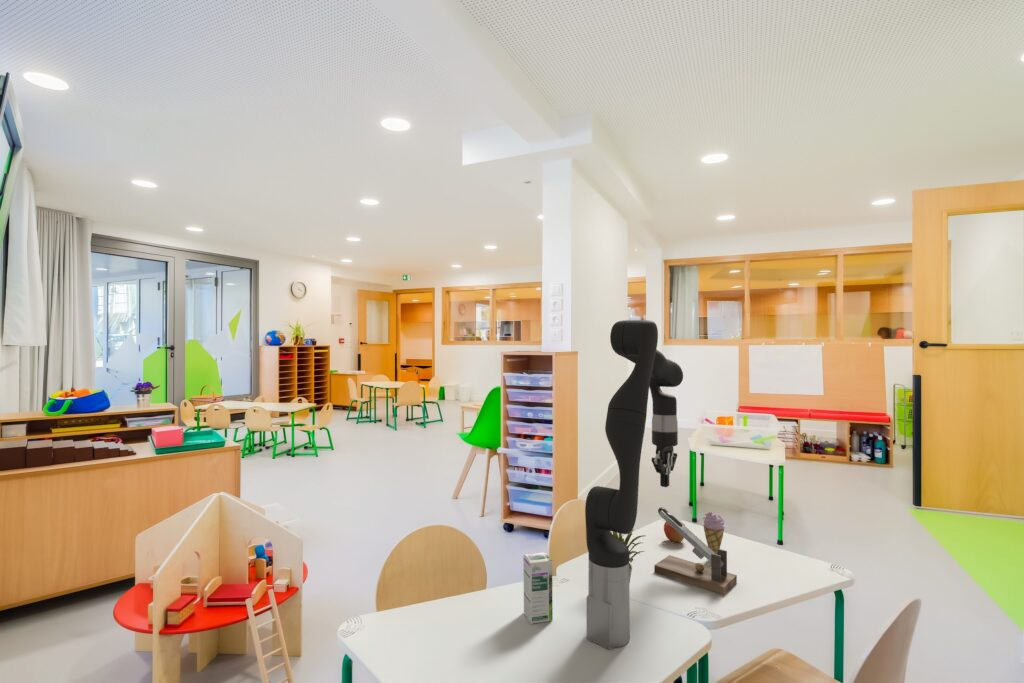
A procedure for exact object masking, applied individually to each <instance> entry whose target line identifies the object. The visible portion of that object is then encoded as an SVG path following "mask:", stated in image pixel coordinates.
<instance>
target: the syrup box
mask: <svg viewBox="0 0 1024 683" xmlns="http://www.w3.org/2000/svg"><path fill="white" fill-rule="evenodd" d="M522 558H523V559H522V560H523V613H524V615H525V617H526V618H527V621H528V623H529V624H530V625H533V624H538V623H544V622H545V623H546V622H552V621H553V615H554V614H553V609H554V608H553V559H551V557H550V556H549V554H547V553H546V551H544V552H537V553H529V554H527V553H525V554H523V557H522Z"/></svg>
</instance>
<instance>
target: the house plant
mask: <svg viewBox="0 0 1024 683" xmlns="http://www.w3.org/2000/svg"><path fill="white" fill-rule="evenodd" d="M634 530H635V528H633V529H632V531H631V532H630V533H628V534H626V537H623V534H621V533H617V532H613V531H612V534H613V536H614V537H616V538H617V539H618V540H619V541H621V542H622V543H624V544H625V545H626V546H627V547H628V549H629V548H630V547H631V545H633V546H632V547H631V548H630V549H629V554H630V555H632V554H633V555H632V556H631V557H630V561H629V585H630V583H631V577H632V570H633V565H632V562H633V561H634V557H635V556H637V555H638V554H639V555H640V556H642V555H641V553H645V551H644V550H640V551H636V550H633V549H634V547H636V546H638V545H639V544H643V542H641V541H640V542H637V543H634V542H635V541H637V540H639V539H640V538H643V537H645V535H644V534H643V535H638V536H636V537H634V538H633V539H632V540H631V541H630V539H631V537H632V535H633V531H634ZM629 541H630V542H629Z"/></svg>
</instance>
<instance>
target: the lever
mask: <svg viewBox="0 0 1024 683" xmlns="http://www.w3.org/2000/svg"><path fill="white" fill-rule="evenodd" d="M657 513H658V515H659V517H660V518H662V519H663V521H665V522H667V523H668V524H670V525H671V526H672V527H673V528H674V529H675V530H676V531H677V532H678V533H679V534H680V535H682V536H683V537H684V539H685V540H686V541H687V543H689V544H690V545H691V546H692V547H693V549H692V551H691V552H692V553H693V554H694V555H695V556H696V557H698V558H699V559H700V560H702V559H704V558H706V560H708V561H709V562H710V563H711V554H712V553H713V554H716V553H715V552H713V551H712V550H711V549H710V548H709V547H708V544H707V543H705V542H703V541H702V539H700V538H699V537H698V535H695V533H693V532H692V531H691V530H690V529H689V528H688V527H686V525H685V524H684V525H685V526H684V525H683V524H682V523H683V522H682V521H680V520H679V519H678V518H677V517H675V515H674V514H672V513H671V512H670V511H669V510H667V509H666V508H664V507H659V508H658V509H657ZM681 522H682V523H681ZM716 555H717V554H716ZM724 564H725V561H724V560H723V559H722V558H721V567H722V566H723V565H724Z"/></svg>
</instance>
